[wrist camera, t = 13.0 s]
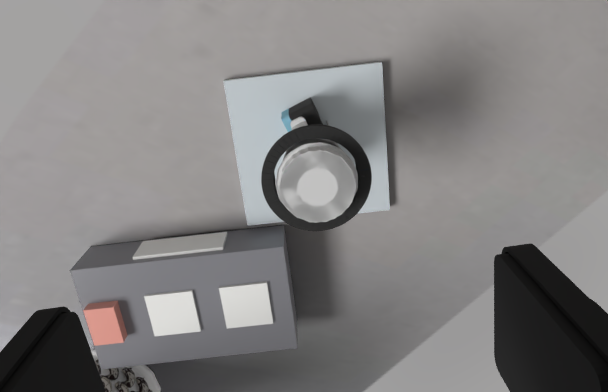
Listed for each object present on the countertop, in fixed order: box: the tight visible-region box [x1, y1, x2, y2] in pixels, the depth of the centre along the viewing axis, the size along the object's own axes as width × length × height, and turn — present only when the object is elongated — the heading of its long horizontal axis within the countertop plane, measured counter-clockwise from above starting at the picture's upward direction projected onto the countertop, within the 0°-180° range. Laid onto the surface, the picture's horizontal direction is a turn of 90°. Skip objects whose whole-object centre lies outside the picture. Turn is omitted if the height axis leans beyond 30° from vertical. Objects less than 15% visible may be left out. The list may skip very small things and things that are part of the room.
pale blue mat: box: [224, 62, 390, 226], centre depth 32 cm, size 10×10×1 cm
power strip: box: [70, 225, 298, 369], centre depth 34 cm, size 14×8×4 cm, turn 96°
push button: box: [261, 97, 372, 231], centre depth 27 cm, size 7×5×10 cm
